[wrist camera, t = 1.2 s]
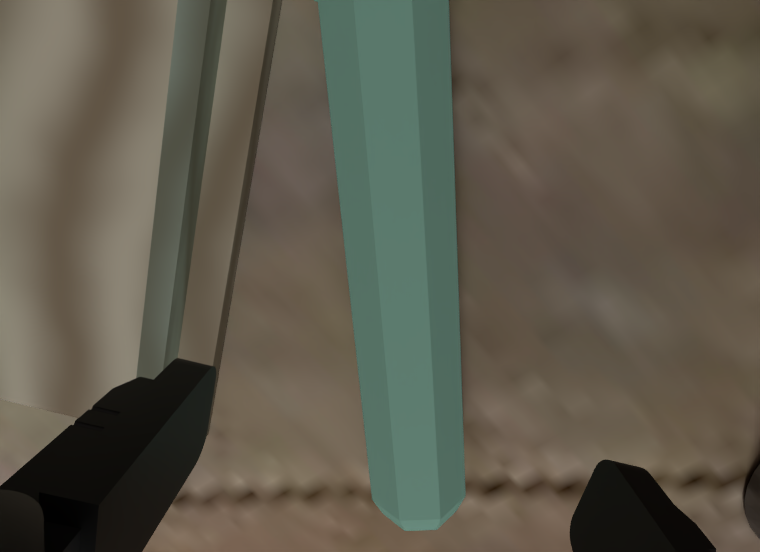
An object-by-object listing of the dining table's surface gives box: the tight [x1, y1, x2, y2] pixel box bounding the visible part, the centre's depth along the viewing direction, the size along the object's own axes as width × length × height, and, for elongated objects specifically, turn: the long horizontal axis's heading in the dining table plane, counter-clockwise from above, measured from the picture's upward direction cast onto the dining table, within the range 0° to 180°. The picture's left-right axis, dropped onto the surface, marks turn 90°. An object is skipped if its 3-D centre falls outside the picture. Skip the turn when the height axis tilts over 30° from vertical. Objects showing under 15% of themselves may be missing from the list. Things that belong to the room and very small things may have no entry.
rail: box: [0, 0, 282, 436], centre depth 20 cm, size 14×24×3 cm, turn 166°
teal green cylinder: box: [314, 0, 465, 531], centre depth 20 cm, size 6×6×25 cm
